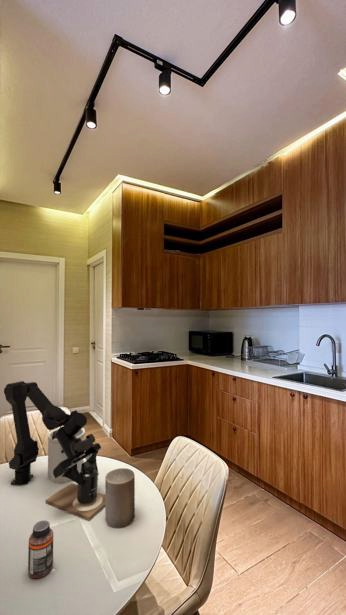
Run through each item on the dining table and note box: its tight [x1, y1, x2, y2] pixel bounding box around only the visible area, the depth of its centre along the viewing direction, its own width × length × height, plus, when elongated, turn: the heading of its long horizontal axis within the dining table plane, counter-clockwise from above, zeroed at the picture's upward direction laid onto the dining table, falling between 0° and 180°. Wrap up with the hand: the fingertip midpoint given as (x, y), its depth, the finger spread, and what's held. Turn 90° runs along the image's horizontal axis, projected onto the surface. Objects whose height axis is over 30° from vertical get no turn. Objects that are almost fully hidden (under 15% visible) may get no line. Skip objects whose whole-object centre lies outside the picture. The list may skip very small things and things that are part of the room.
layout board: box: [45, 482, 105, 522], centre depth 104 cm, size 20×12×1 cm, turn 64°
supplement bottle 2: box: [77, 460, 99, 504], centre depth 102 cm, size 7×7×12 cm
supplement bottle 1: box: [27, 519, 54, 579], centre depth 76 cm, size 6×6×11 cm
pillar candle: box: [104, 467, 136, 529], centre depth 96 cm, size 10×10×15 cm
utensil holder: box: [47, 427, 86, 484], centre depth 122 cm, size 15×15×18 cm
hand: (90, 480), depth 102 cm, fingers closed on supplement bottle 2, 7 cm apart
